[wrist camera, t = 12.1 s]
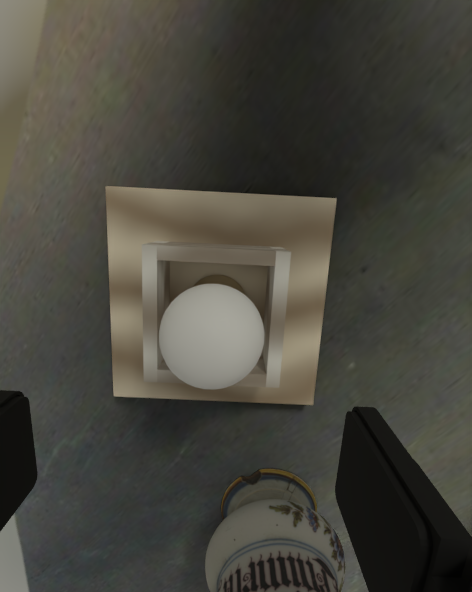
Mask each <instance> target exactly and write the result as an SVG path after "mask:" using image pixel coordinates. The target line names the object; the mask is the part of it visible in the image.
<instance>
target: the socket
mask: <svg viewBox="0 0 472 592" xmlns="http://www.w3.org/2000/svg"><path fill="white" fill-rule="evenodd" d="M336 200H337V198H323V197H304V196H285V195H266V194H247V193H228V192H209V191H190V190H171V189H152V188H133V187H115V186H106V209H107V236H108V262H109V289H110V315H111V341H112V368H113V394H114V396H117V397H139V398H162V399H185V400H208V401H231V402H254V403H277V404H300V405H313V401H314V392H315V383H316V374H317V366H318V357H319V348H320V340H321V331H322V322H323V313H324V305H325V296H326V287H327V279H328V270H329V261H330V253H331V244H332V235H333V226H334V218H335V209H336ZM203 284H221V285H226V286H229V287H232V288H234V289H236V290H238V291H240V292H241V293H243V294H244V295H246V296H247V297H248V298H249V299H250V300H251V301H252V302H253V303H254V305H255V307H256V308H257V310H258V311H259V314H260V316H261V319H262V322H263V327H264V333H265V335H264V345H263V349H262V353H261V356H260V358H259V360H258V362H257V364H256V366H255V367H254V368H253V369H252V371H251V372H250V373H249V374H248V375H247V376H246V377H244V378H243V379H242V380H241V381H239V382H237V383H236V384H234V385H232V386H229V387H226V388H222V389H215V390H213V389H201V388H196V387H194V386H191V385H189V384H187V383H185V382H183V381H182V380H180V379H179V378H178V377H177V376H176V375H174V374H173V373H172V372H171V370H170V369H169V367H168V366H167V365H166V362H165V360H164V358H163V356H162V353H161V349H160V345H159V330H160V324H161V320H162V318H163V315H164V313H165V311H166V309H167V308H168V307H169V305H170V304H171V302H172V301H173V300H174V299H175V298H176V297H177V296H178V295H179V294H181V293H183V292H184V291H186V290H187V289H189V288H192V287H195V286H197V285H203Z"/></svg>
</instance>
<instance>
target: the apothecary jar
mask: <svg viewBox="0 0 472 592" xmlns="http://www.w3.org/2000/svg"><path fill="white" fill-rule="evenodd" d="M221 513H222V518H223V521H222V522H221V523H220V525H219V526H218V527H217V529H216V530H215V532H214V534H213V535H212V537H211V540H210V542H209V545H208V548H207V552H206V557H205V574H206V580H207V584H208V587H209V590H210V592H341V590H342V586H343V583H344V577H345V558H344V552H343V549H342V545H341V543H340V540H339V538H338V536H337V534H336V533H335V531H334V529H333V528H332V527H331V525H330V524H329V523H328V522H327V521H326V520H325V519H324V518H323V517H322V516H321V515H319V514H318V513H317V504H316V499H315V496H314V494H313V492H312V490H311V489H310V487H309V486H308V485H307V484H306V483H305V482H304V481H303V480H302V479H301V478H299V477H298V476H297V475H294V474H292V473H290V472H288V471H285V470H281V469H273V468H267V469H259V470H258V471H257V472H255V473H254V474H253V475H251V476H249V477H245V476H241V477H239V478H238V479H236V480H235V481H234V482H233V483H232V484H231V485H230V486H229V487H228V488H227V490H226V492H225V494H224V496H223V499H222V504H221Z"/></svg>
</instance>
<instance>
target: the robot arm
mask: <svg viewBox="0 0 472 592" xmlns="http://www.w3.org/2000/svg"><path fill="white" fill-rule="evenodd" d="M36 480H37V466H36V457H35V449H34V440H33V431H32V423H31V414H30V405H29V400H28V398H27V397H24V395H23V393H22V392H20V391H3V390H0V531H1V530H2V529H3V527H4V526H5V525H6V523H7V522H8V521H9V519H10V518H11V516H12V515H13V514H14V513H15V511H16V510H17V509H18V507H19V506H20V505H21V503H22V502H23V501H24V499H25V498H26V497H27V495H28V494H29V493H30V491H31V490H32V489H33V487H34V485H35V483H36ZM335 493H336V500H337V503H338V506H339V509H340V511H341V514H342V517H343V520H344V523H345V525H346V528H347V531H348V534H349V537H350V540H351V542H352V545H353V548H354V551H355V554H356V557H357V559H358V562H359V565H360V568H361V571H362V573H363V576H364V579H365V582H366V585H367V588H368V590H369V592H472V537H471V536H470V534H469V533H468V532H467V530H466V529H465V528H464V526H463V525H462V523H461V522H460V521H459V519H458V518H457V517H456V515H455V514H454V513H453V511H452V510H451V509H450V507H449V506H448V504H447V503H446V502H445V500H444V499H443V498H442V496H441V495H440V494H439V492H438V491H437V489H436V488H435V487H434V485H433V484H432V483H431V481H430V480H429V479H428V477H427V476H426V475H425V473H424V472H423V470H422V469H421V468H420V466H419V465H418V464H417V463H416V462H415V460H414V459H412V457H411V456H410V454H409V453H408V452H407V450H406V449H405V448H404V446H403V445H402V444H401V442H400V441H399V439H398V438H397V437H396V435H395V434H394V433H393V431H392V430H391V428H390V427H389V426H388V424H387V423H386V422H385V420H384V419H383V418H382V416H381V415H380V413H379V412H378V411H377V409H375V408H373V407H354V408H353V410H352V412H350V411H348V412H347V414H346V419H345V425H344V432H343V439H342V445H341V452H340V459H339V466H338V472H337V479H336V486H335Z"/></svg>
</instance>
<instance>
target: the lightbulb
mask: <svg viewBox="0 0 472 592" xmlns="http://www.w3.org/2000/svg"><path fill="white" fill-rule="evenodd" d="M264 335H265V333H264V327H263V322H262V319H261V316H260V314H259V311H258V310H257V308H256V307H255V305H254V303H253V302H252V301H251V300H250V299H249V298H248V297H247V296H246V295H244V294H243V293H241V292H240V291H238V290H236V289H234V288H232V287H229V286H226V285H221V284H203V285H197V286H195V287H192V288H189V289H187V290H186V291H184V292H183V293H181V294H179V295H178V296H177V297H176V298H175V299H174V300H173V301H172V302H171V304H170V305H169V307H168V308H167V309H166V311H165V313H164V315H163V318H162V320H161V324H160V330H159V345H160V349H161V353H162V356H163V358H164V360H165V362H166V365H167V366H168V367H169V369H170V370H171V372H172V373H173V374H174V375H176V376H177V377H178V378H179V379H180V380H182V381H183V382H185V383H187V384H189V385H191V386H194V387H196V388H201V389H213V390H215V389H222V388H226V387H229V386H232V385H234V384H236V383H237V382H239V381H241V380H242V379H243V378H244V377H246V376H247V375H248V374H249V373H250V372H251V371H252V369H253V368H254V367H255V366H256V364H257V362H258V360H259V358H260V356H261V353H262V349H263V345H264Z"/></svg>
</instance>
